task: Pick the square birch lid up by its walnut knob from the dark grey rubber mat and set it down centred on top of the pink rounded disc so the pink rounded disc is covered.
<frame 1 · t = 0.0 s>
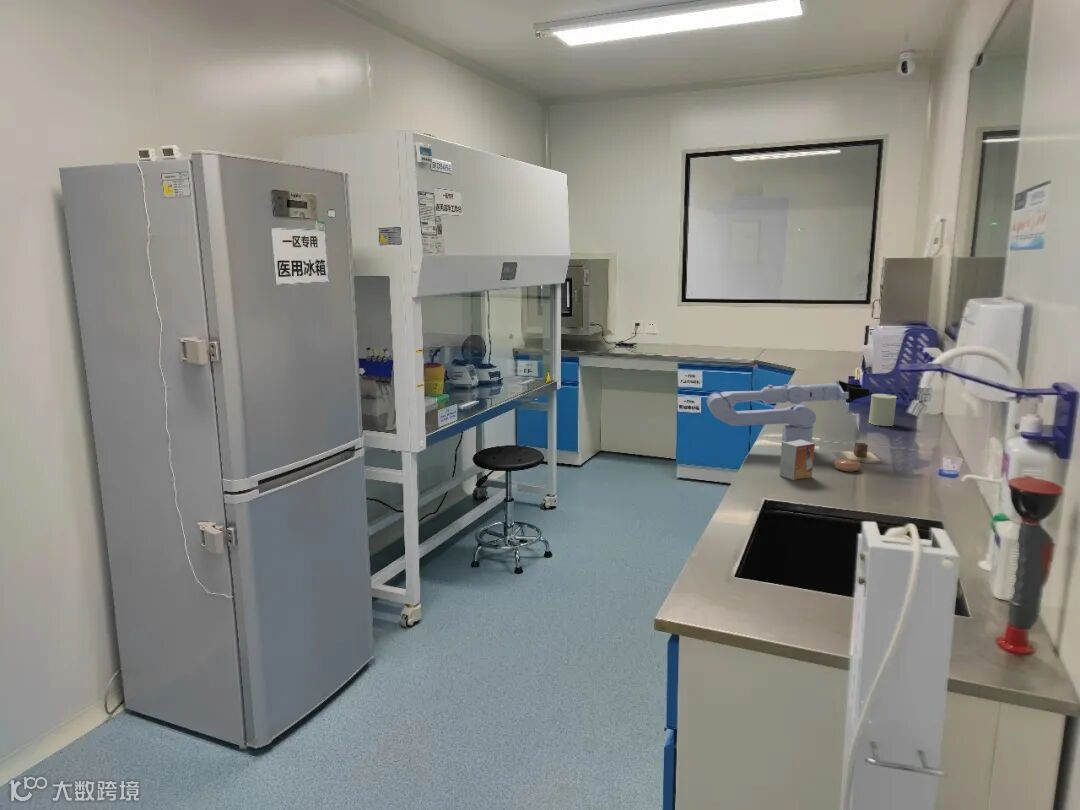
hand: (865, 390, 228), 22 cm above the worktop, tool horizontal, fingers open, 7 cm apart
pink rounded disc: (846, 470, 214), on the worktop
lid: (859, 458, 225), point 1 cm above the worktop, touching mat
mat: (859, 460, 225), on the worktop
small box: (795, 477, 208), on the worktop
can: (880, 424, 275), on the worktop
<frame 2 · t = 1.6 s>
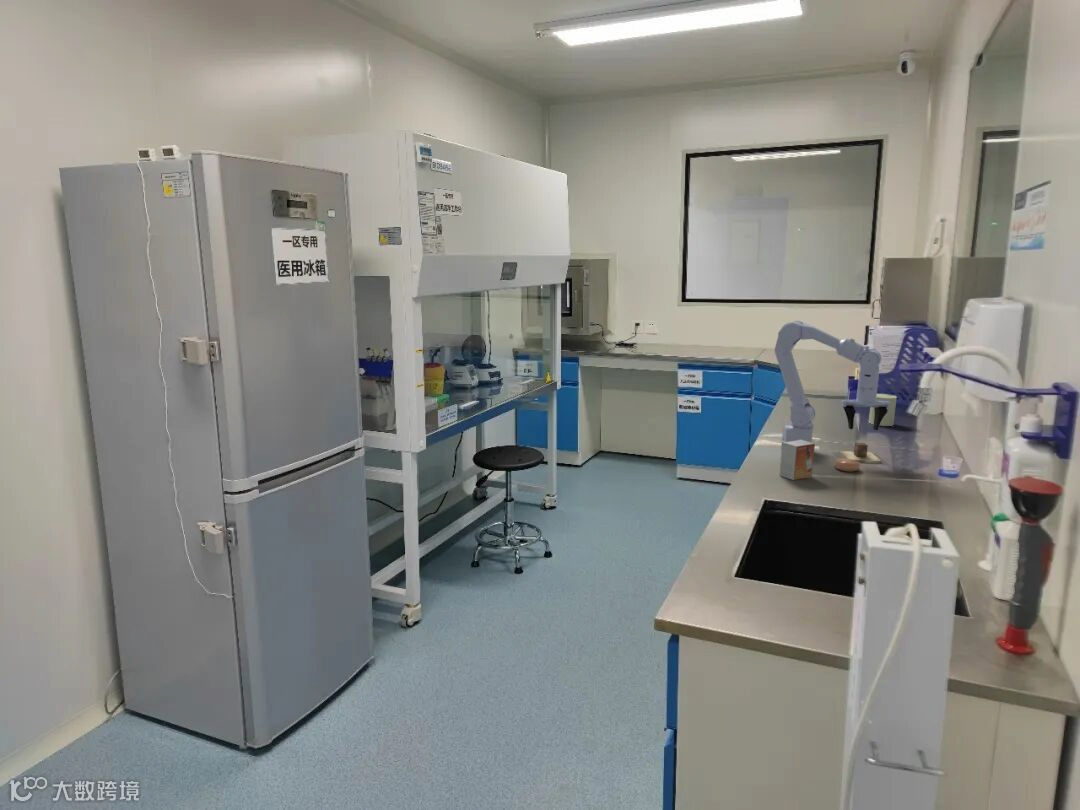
hand: (863, 429, 223), 10 cm above the worktop, tool pointing down, fingers open, 7 cm apart
nothing on the worktop moved.
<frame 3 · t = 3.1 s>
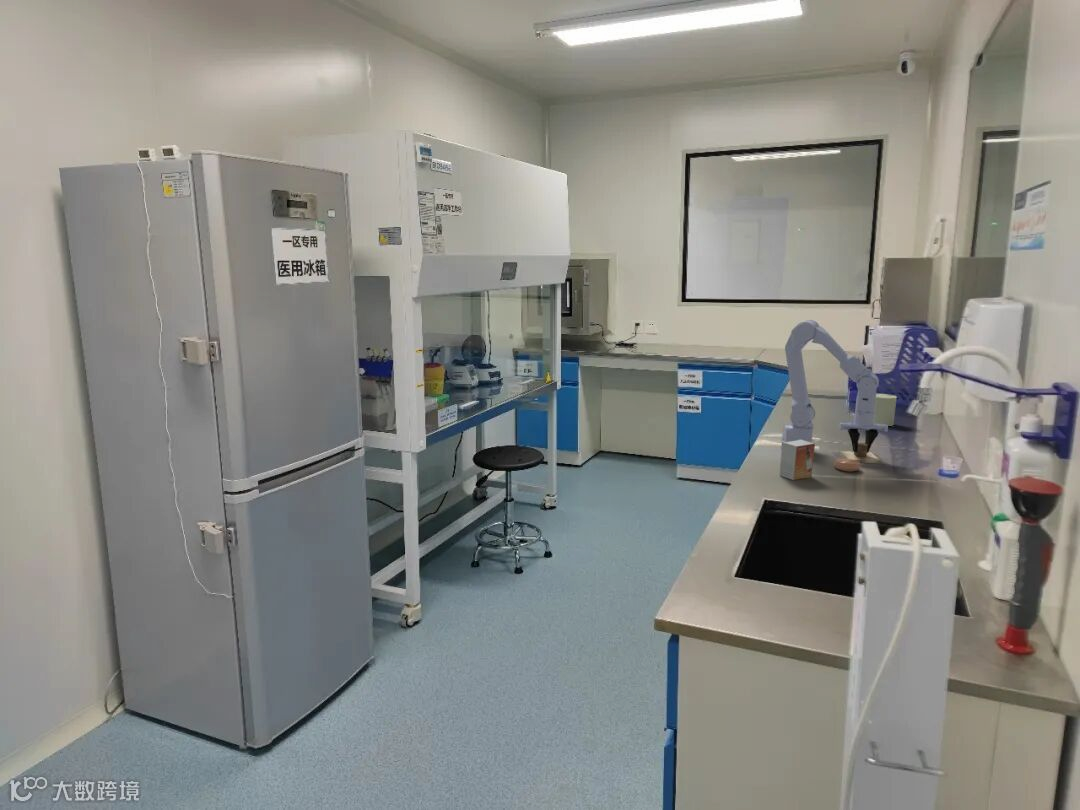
hand: (860, 451, 225), 3 cm above the worktop, tool pointing down, fingers closed on lid, 3 cm apart
lid: (859, 458, 225), point 1 cm above the worktop, touching gripper, mat
everything else where it was.
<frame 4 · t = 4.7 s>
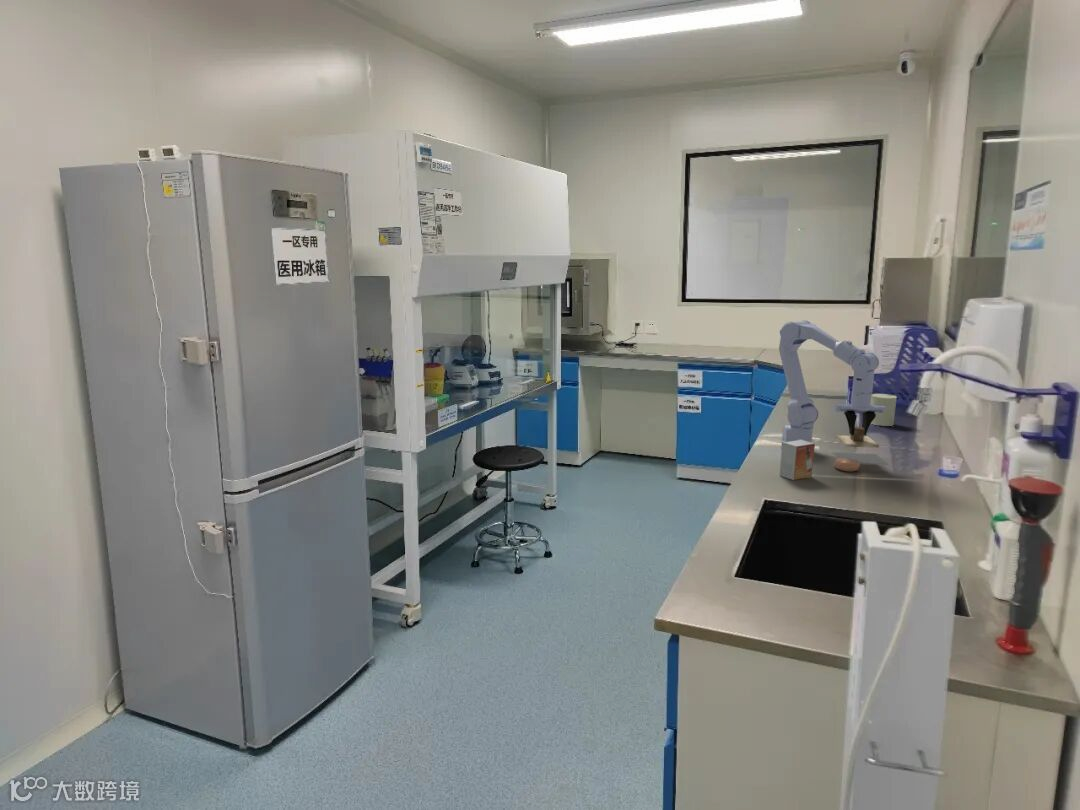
hand: (857, 434, 218), 10 cm above the worktop, tool pointing down, fingers closed on lid, 3 cm apart
lid: (856, 442, 219), point 7 cm above the worktop, touching gripper
everything else where it was.
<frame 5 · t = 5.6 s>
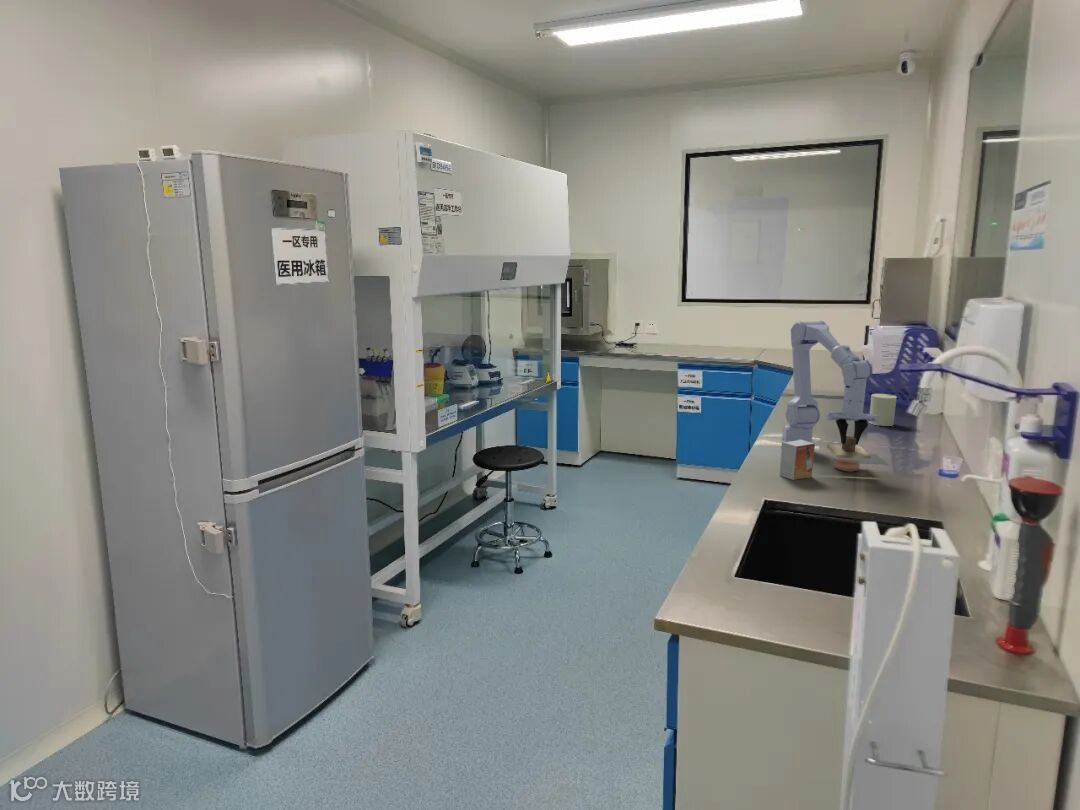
hand: (849, 443, 212), 9 cm above the worktop, tool pointing down, fingers closed on lid, 3 cm apart
lid: (847, 452, 213), point 6 cm above the worktop, touching gripper
everything else where it was.
when the fingers open (6 cm above the worktop, at t = 6.4 s): lid stays where it is, resting on pink rounded disc.
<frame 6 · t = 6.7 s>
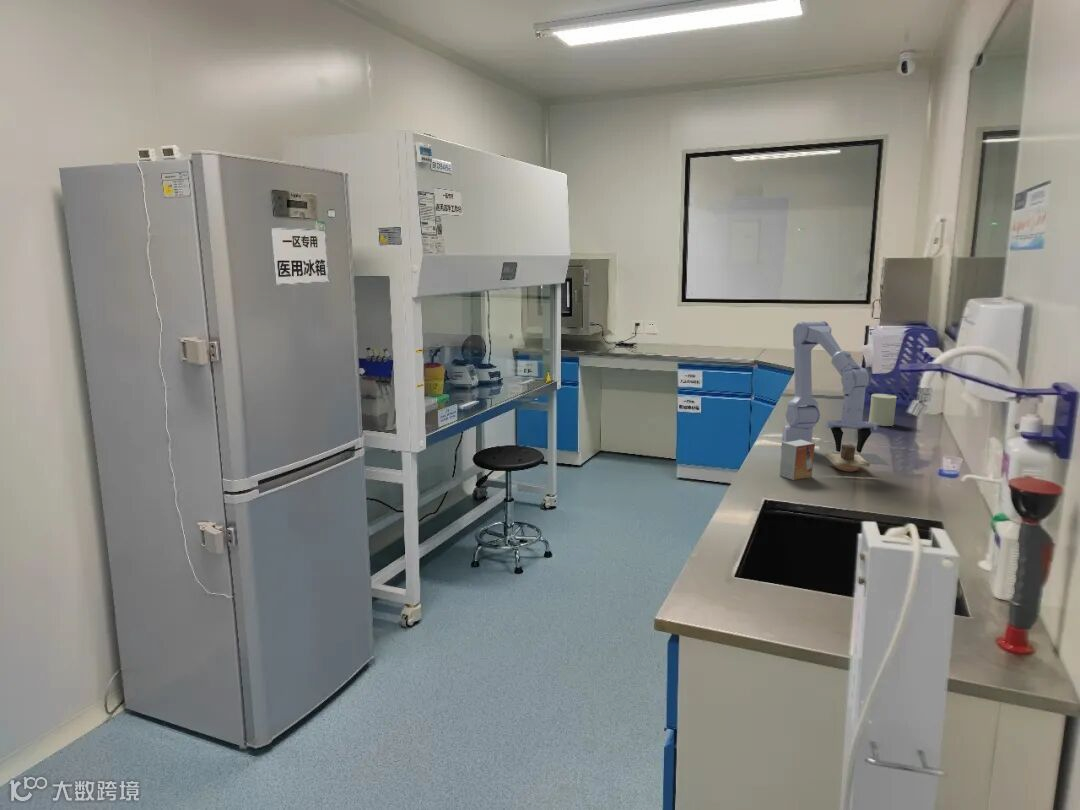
hand: (848, 451, 212), 6 cm above the worktop, tool pointing down, fingers open, 5 cm apart
lid: (846, 461, 213), point 3 cm above the worktop, touching pink rounded disc
everything else where it was.
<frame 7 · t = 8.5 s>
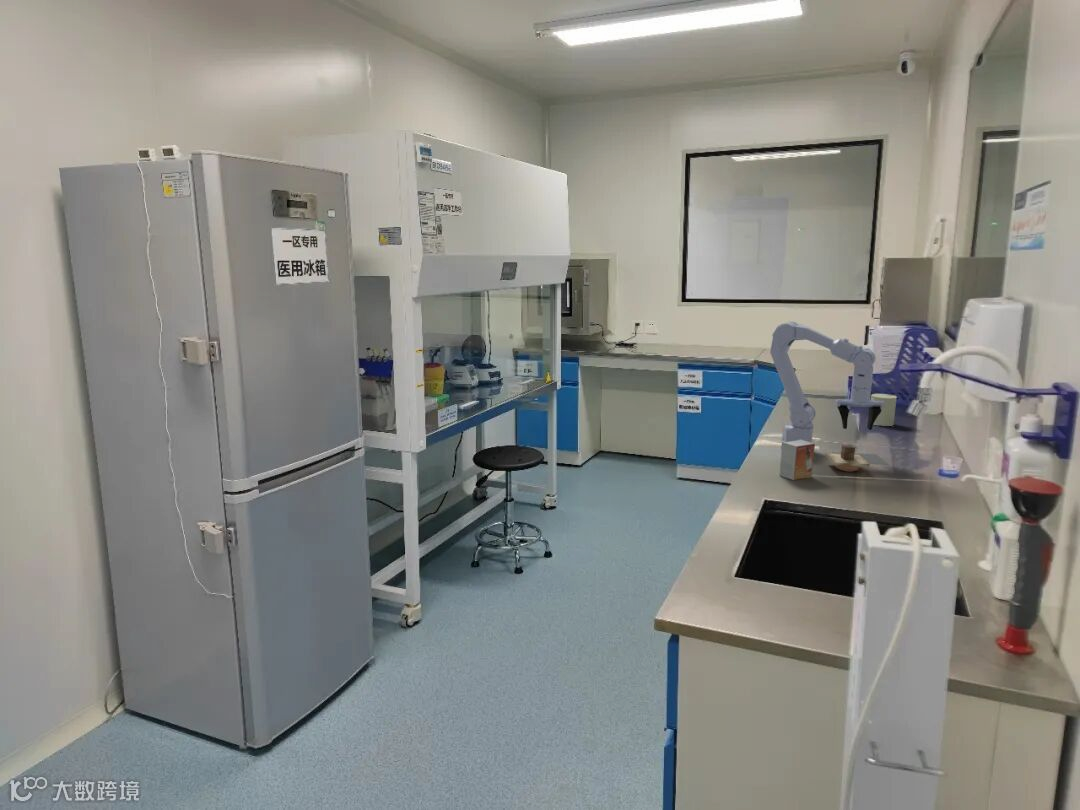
hand: (856, 428, 224), 10 cm above the worktop, tool pointing down, fingers open, 7 cm apart
nothing on the worktop moved.
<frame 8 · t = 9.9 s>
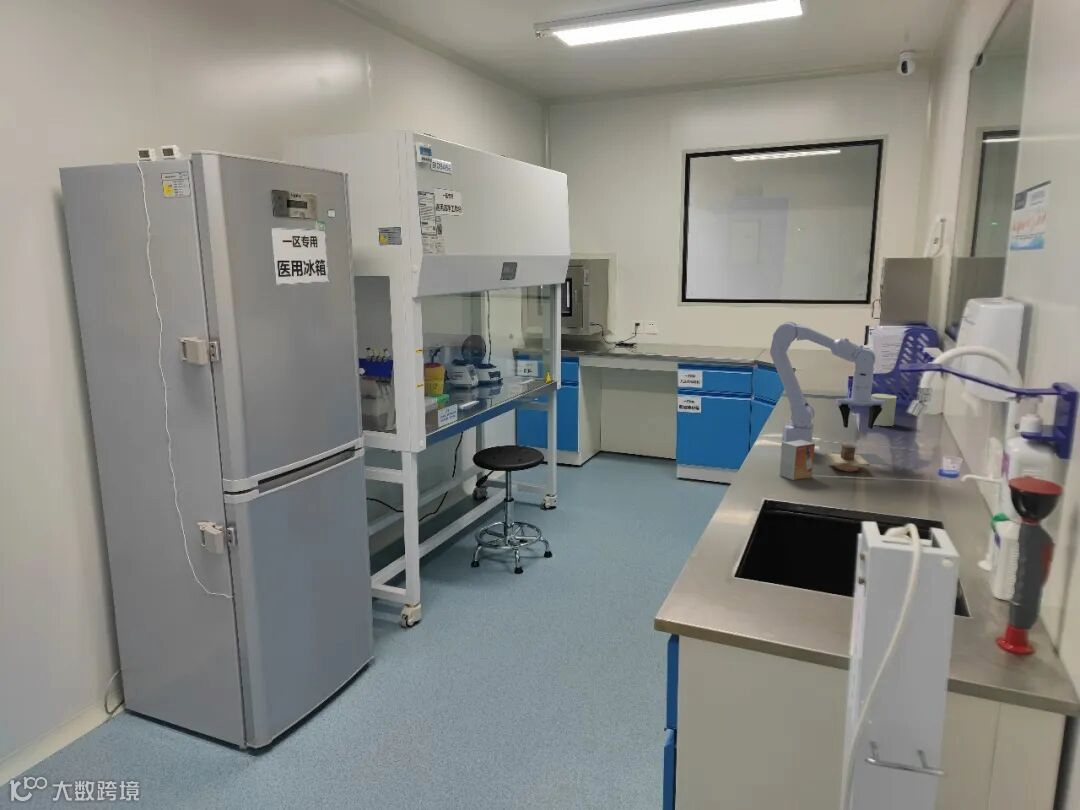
hand: (857, 427, 225), 10 cm above the worktop, tool pointing down, fingers open, 7 cm apart
nothing on the worktop moved.
at the end: lid 0.4 cm from the pink rounded disc (horizontally); lid point 3.0 cm above the worktop; lid tilted 0° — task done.
